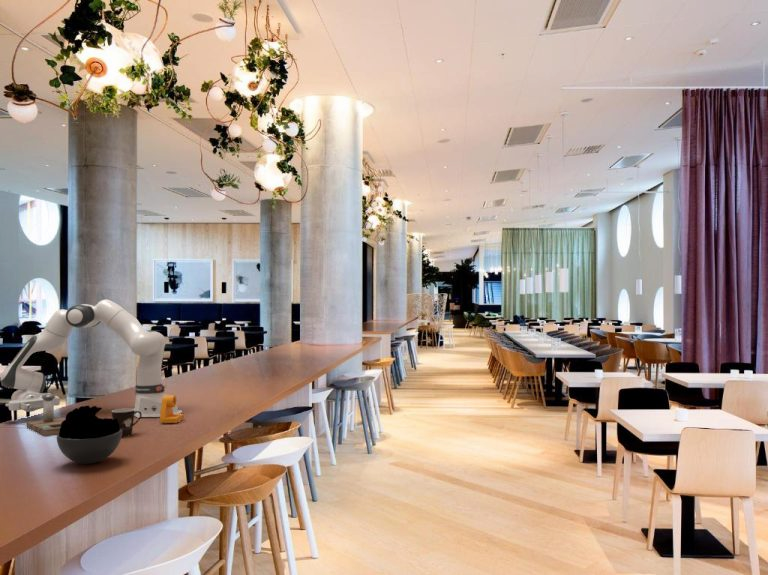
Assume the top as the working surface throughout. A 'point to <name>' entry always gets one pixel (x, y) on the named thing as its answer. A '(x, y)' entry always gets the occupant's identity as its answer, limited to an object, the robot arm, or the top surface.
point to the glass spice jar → (48, 407)
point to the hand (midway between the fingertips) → (39, 405)
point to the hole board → (46, 426)
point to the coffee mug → (125, 419)
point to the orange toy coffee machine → (169, 410)
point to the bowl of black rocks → (88, 435)
